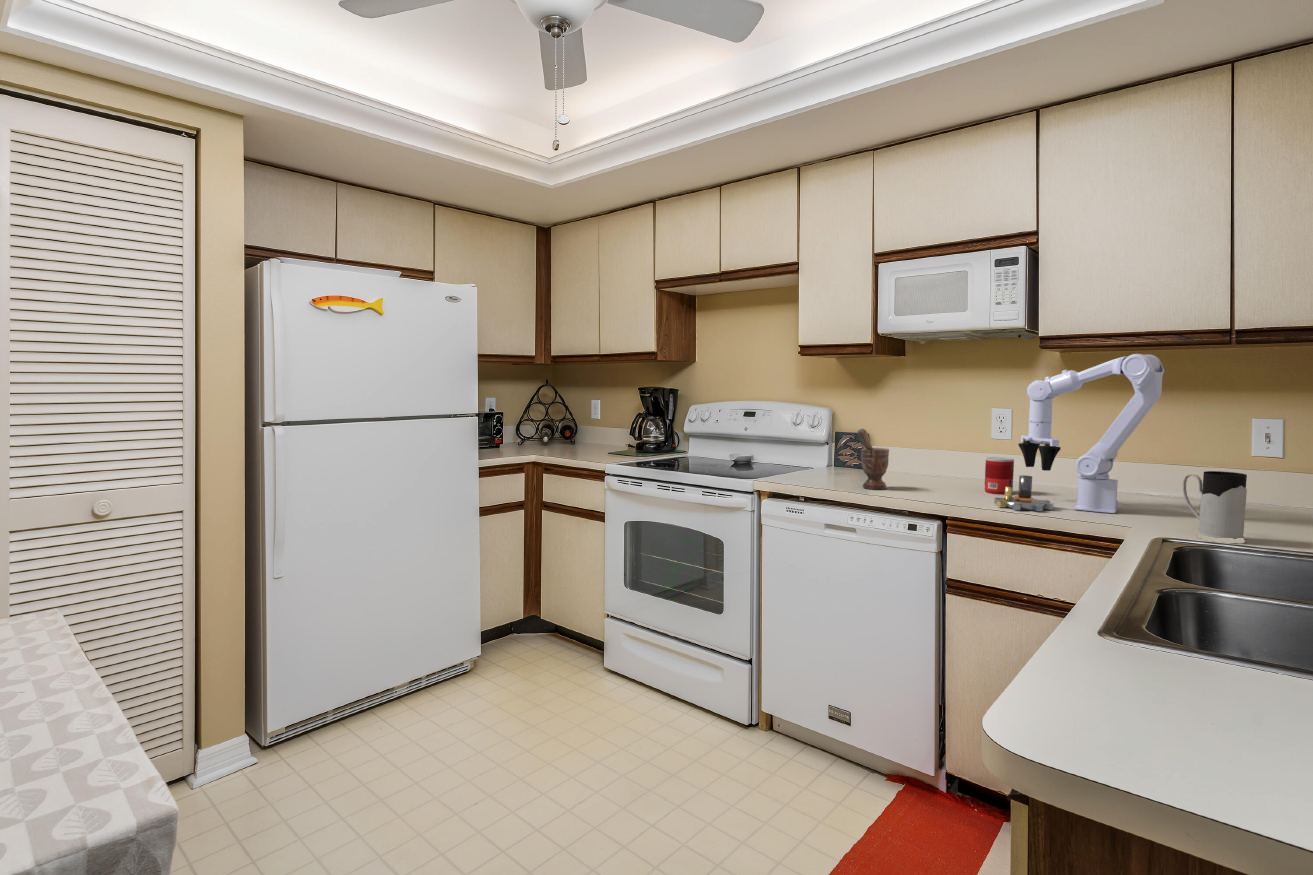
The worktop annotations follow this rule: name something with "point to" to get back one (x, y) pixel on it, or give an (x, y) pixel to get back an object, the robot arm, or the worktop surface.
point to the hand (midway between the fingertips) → (1037, 468)
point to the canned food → (998, 474)
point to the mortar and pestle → (873, 462)
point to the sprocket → (1022, 502)
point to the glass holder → (1220, 504)
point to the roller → (1025, 486)
